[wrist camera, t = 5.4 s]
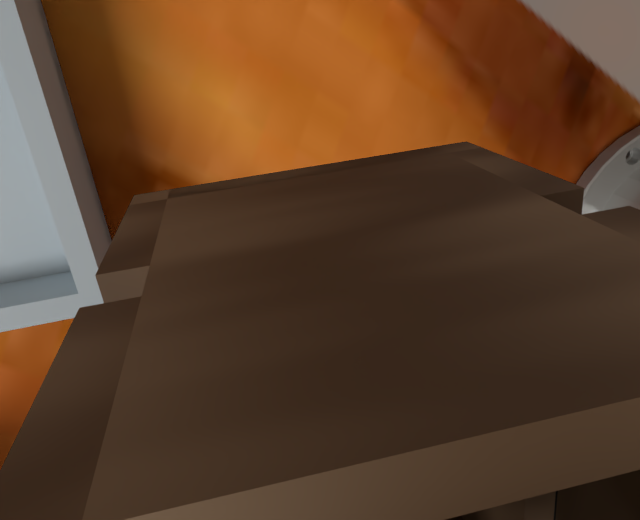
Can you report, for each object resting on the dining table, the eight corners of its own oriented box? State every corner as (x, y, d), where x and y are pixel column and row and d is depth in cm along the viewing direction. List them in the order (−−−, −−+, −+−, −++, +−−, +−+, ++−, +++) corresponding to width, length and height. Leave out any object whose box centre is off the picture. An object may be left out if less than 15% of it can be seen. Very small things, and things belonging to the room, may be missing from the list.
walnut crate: (466, 141, 10) (936, 326, 3) (468, 499, 13) (701, 911, 7) (133, 195, 9) (-44, 560, 3) (230, 559, 13) (252, 1084, 6)
